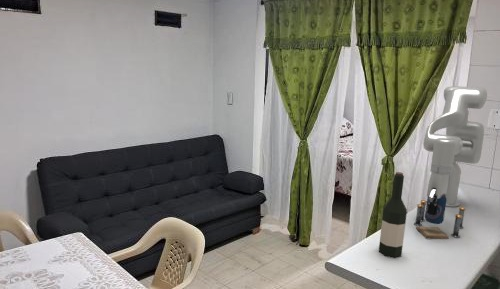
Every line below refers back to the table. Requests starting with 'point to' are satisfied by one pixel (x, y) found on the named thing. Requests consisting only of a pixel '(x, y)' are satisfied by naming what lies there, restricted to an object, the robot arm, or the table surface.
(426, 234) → the walnut coaster
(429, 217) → the soda can
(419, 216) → the post
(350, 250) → the table surface
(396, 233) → the wine bottle
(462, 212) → the post
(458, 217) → the post
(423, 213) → the post
